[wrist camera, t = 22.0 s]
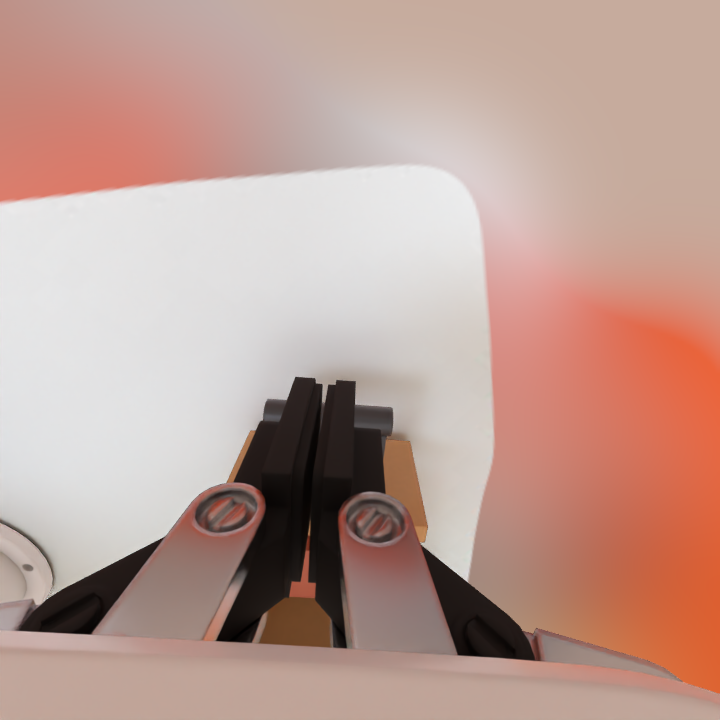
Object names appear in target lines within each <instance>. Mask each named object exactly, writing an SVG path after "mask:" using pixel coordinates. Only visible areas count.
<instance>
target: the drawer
mask: <svg viewBox="0 0 720 720" xmlns="http://www.w3.org/2000/svg"><path fill="white" fill-rule="evenodd" d="M286 402H287V400H278V399H267V401H266V403H265V407H264V414H263V420H264V421H278V422H279V421H280V419H281V416H282V413H283V410H284V407H285V405H286ZM324 407H325V403H322V410H321V424H322V418H323V413H324ZM354 427H360V428H374V429H380V430H381V438H382V451H383V464H384V477H385V490H386V494H387V495H390V496H392V497H393V498H395V499H397V500H399V501H400V502H401V503H402V504H403V505H404V506H405V507H406V508H407V510H408V512H409V514H410V516H411V518H412V521H413V524H414V527H415V530H416V533H417V536H418V539H419V542H425V538H426V533H427V528H428V525H427V521H426V516H425V511H424V506H423V501H422V497H421V492H420V487H419V482H418V477H417V473H416V468H415V463H414V458H413V453H412V449H411V444H410V441H401V440H386V436H391V434H392V428H393V409H392V408H391V407H378V406H364V405H355V415H354ZM255 432H256V431H250V432H249V435H248V437H247V439H246V441H245V443H244V445H243V448H242V450H241V452H240V454H239V456H238V459H237V461H236V463H235V465H234V467H233V470H232V472H231V474H230V476H229V478H228V481H227V483H232V482H233V481H234V479H235V477H236V475H237V472H238V470H239V468H240V465H241V463H242V461H243V459H244V456H245V454H246V452H247V450H248V447H249V445H250V443H251V441H252V438H253V436H254V434H255ZM308 536H310V527H309V533H308ZM329 627H330V617H329V616H328V615H327V614H326V613H325V611H324V610H323V609H322V608H321V607H320V605H319V604H318V603H317V602H316V601H315V598H303V597H289V598H284V599H282V600H281V601H280V602H279V603H277V604H276V605H275V606H273V607H272V608H271V609H269V610H268V618H267V622H266V626H265V628H264V631H263V634H262V637H261V639H260V642H259V644H274V645H292V646H310V647H327V648H331V644H330V629H329Z"/></svg>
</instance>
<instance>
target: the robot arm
mask: <svg viewBox="0 0 720 720" xmlns="http://www.w3.org/2000/svg"><path fill="white" fill-rule="evenodd" d="M355 386H356V381H343V380H336V385H328V390H327V395H326V401H325V407H324V413H323V418H322V424H321V410H322V388H323V385H322V384H316V380H315V378H303V377H295V380H294V382H293V385H292V388H291V391H290V393H289V396H288V399H287V402H286V405H285V407H284V410H283V413H282V416H281V419H280V421H279V422H278V421H264V420H262V421H260V423H259V425H258V427H257V429H256V432H255V434H254V436H253V438H252V441H251V443H250V445H249V447H248V450H247V452H246V454H245V456H244V459H243V461H242V463H241V465H240V468H239V470H238V472H237V475H236V477H235V479H234V481H233V482H232V483H225V484H220V485H217V486H214V487H211V488H209V489H207V490H206V491H204V492H202V493H201V494H199V495H198V496H197V497H196V498H195V499H194V500H193V501H192V502H191V504H190V505H189V506H188V508H187V509H186V510H185V512H184V513H183V514H182V516H181V517H180V518H179V519H178V521H177V522H176V523H175V525H174V526H173V527H172V529H171V530H170V531H169V533H168V534H167V535H166V536H165V537H164V538H162V539H160V540H158V541H156V542H154V543H152V544H150V545H148V546H146V547H144V548H142V549H140V550H138V551H136V552H134V553H132V554H130V555H128V556H127V557H125V558H123V559H121V560H119V561H117V562H115V563H113V564H111V565H109V566H107V567H105V568H103V569H101V570H99V571H97V572H95V573H93V574H92V575H90V576H88V577H86V578H84V579H82V580H80V581H78V582H76V583H74V584H72V585H70V586H68V587H66V588H64V589H63V590H61V591H59V592H58V593H56V594H55V595H53V596H51V597H50V598H48V599H47V600H46V601H45V602H43V601H44V600H45V599H46V597H47V596H48V595H49V593H50V590H51V588H52V581H53V577H52V573H51V568H50V566H49V564H48V562H47V560H46V558H45V557H44V556H43V554H42V553H41V552H40V550H39V549H38V548H37V547H36V546H35V545H34V544H33V543H32V542H30V541H29V540H28V539H27V538H25V537H24V536H23V535H21V534H20V533H18V532H17V531H15V530H13V529H11V528H9V527H8V526H6V525H4V524H2V523H0V720H720V694H718V693H715V692H712V691H709V690H706V689H703V688H699V687H696V686H693V685H690V684H686V683H683V682H682V681H681V680H680V679H679V678H677V677H676V676H675V675H673V674H672V673H670V672H669V671H668V670H666V669H665V668H663V667H661V666H659V665H657V664H655V663H652V662H650V661H648V660H644V659H641V658H638V657H634V656H631V655H627V654H624V653H620V652H617V651H613V650H610V649H607V648H603V647H600V646H596V645H593V644H590V643H586V642H583V641H579V640H576V639H572V638H569V637H566V636H562V635H559V634H555V633H552V632H548V631H545V630H541V629H538V628H536V629H535V631H534V633H533V634H532V633H529V632H525V631H522V629H521V628H520V626H519V625H518V624H517V623H516V622H515V621H514V620H512V619H511V617H510V616H508V615H507V614H506V613H505V612H504V611H502V610H501V609H500V608H499V607H497V606H496V605H495V604H494V603H492V602H491V601H490V600H489V599H487V598H486V597H485V596H484V595H482V594H481V593H480V592H479V591H478V590H476V589H475V588H474V587H472V586H471V585H470V584H469V583H468V582H466V581H465V580H464V579H463V578H461V577H460V576H459V575H458V574H456V573H455V572H454V571H453V570H451V569H450V568H449V567H448V566H446V565H445V564H444V563H443V562H441V561H440V560H439V559H438V558H436V557H435V556H434V555H433V554H431V553H430V552H429V551H428V550H426V549H425V548H424V547H423V546H421V545H420V542H419V539H418V536H417V533H416V530H415V527H414V524H413V521H412V518H411V516H410V514H409V512H408V510H407V508H406V507H405V506H404V505H403V504H402V503H401V502H400V501H399V500H397V499H395V498H393V497H392V496H390V495H387V494H386V490H385V477H384V464H383V451H382V438H381V430H380V429H374V428H360V427H354V415H355ZM309 527H310V546H309V570H308V583H316V588H315V601H316V602H317V603H318V604H319V605H320V607H321V608H322V609H323V610H324V611H325V613H326V614H327V615H328V616H329V617H330V627H329V629H330V644H331V648H327V647H310V646H292V645H274V644H259V642H260V639H261V637H262V634H263V631H264V628H265V626H266V622H267V618H268V610H269V609H271V608H272V607H273V606H275V605H276V604H277V603H279V602H280V601H281V600H282V599H284V598H289V595H290V590H291V584H292V582H301V578H302V572H303V565H304V559H305V552H306V546H307V540H308V533H309Z"/></svg>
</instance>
